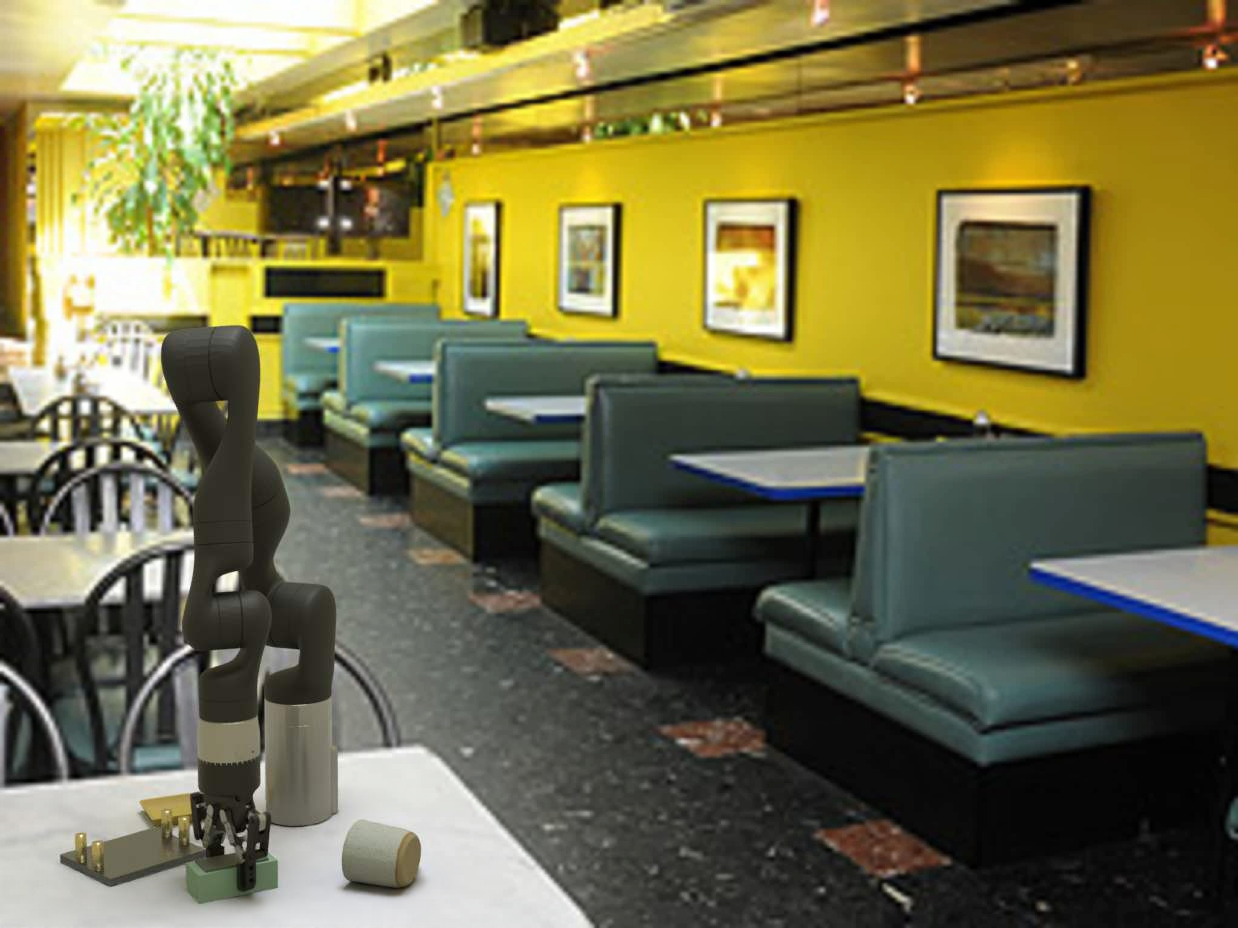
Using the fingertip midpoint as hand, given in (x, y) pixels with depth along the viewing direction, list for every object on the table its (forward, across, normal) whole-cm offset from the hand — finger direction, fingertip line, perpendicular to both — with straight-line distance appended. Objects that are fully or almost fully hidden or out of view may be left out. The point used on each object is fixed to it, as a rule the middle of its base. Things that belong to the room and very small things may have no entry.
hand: (230, 882), depth 200 cm
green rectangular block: (+1, 0, 0) cm, 1 cm away
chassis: (+1, +17, +3) cm, 17 cm away
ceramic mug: (+1, -11, -15) cm, 19 cm away
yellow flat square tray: (+1, +27, -10) cm, 29 cm away
